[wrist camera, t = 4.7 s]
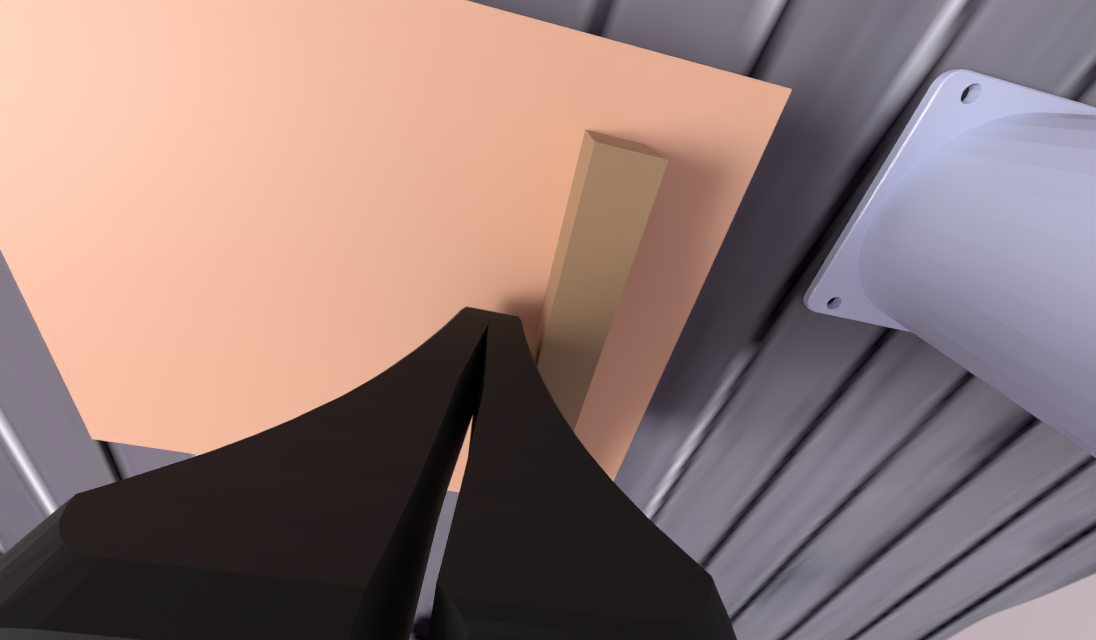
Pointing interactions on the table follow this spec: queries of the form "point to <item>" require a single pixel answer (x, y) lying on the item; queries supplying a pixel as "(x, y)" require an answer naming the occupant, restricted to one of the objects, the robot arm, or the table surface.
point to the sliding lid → (354, 202)
